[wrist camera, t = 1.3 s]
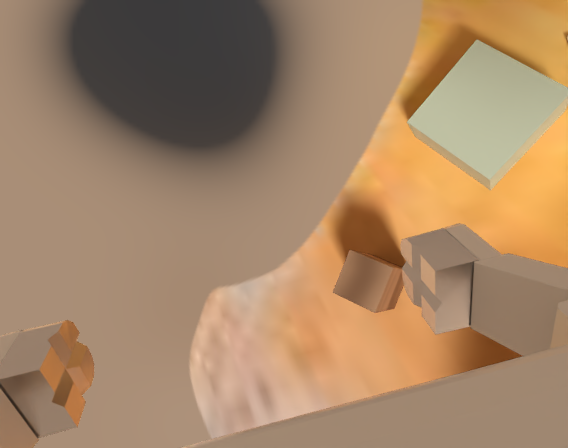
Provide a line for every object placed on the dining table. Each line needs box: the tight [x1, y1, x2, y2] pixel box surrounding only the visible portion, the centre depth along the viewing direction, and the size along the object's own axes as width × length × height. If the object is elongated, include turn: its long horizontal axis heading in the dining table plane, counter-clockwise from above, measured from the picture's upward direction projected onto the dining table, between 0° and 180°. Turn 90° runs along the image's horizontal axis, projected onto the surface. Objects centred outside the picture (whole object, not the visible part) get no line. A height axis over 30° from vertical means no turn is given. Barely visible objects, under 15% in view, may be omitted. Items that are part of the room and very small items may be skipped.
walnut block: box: [333, 250, 404, 313], centre depth 42 cm, size 4×4×8 cm
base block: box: [407, 40, 568, 190], centre depth 41 cm, size 10×10×5 cm
